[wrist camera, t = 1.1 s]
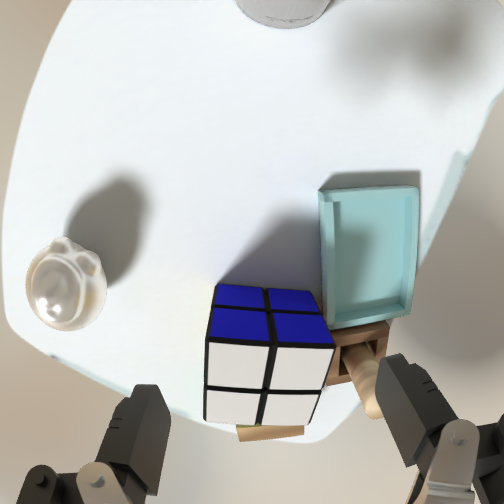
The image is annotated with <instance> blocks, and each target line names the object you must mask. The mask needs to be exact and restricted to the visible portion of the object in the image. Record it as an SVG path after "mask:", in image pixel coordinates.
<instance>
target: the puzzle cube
mask: <svg viewBox="0 0 504 504" xmlns="http://www.w3.org/2000/svg"><path fill="white" fill-rule="evenodd" d="M336 348H337V346H336V344H335V341H334V339H333V337H332V335H331V333H330V331H329V328H328V326H327V324H326V322H325V320H324V318H323V317H322V314H321V312H320V309H319V307H318V305H317V303H316V301H315V299H314V297H313V295H312V293H311V292H310V291H301V290H287V289H274V288H267V289H266V290H265V291H264V289H263V288H262V287H250V286H238V285H227V284H217V285H216V286H215V289H214V294H213V299H212V304H211V311H210V316H209V321H208V327H207V332H206V337H205V358H204V393H203V419H204V420H205V421H206V422H214V423H225V424H239V425H256V424H257V423H259V424H260V425H267V426H302V425H308V424H309V423H310V422H311V419H312V417H313V414H314V411H315V409H316V406H317V403H318V401H319V398H320V395H321V389H322V388H323V387H324V384H325V382H326V379H327V376H328V373H329V370H330V367H331V364H332V361H333V357H334V354H335V351H336Z"/></svg>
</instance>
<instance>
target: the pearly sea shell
mask: <svg viewBox="0 0 504 504" xmlns="http://www.w3.org/2000/svg"><path fill="white" fill-rule="evenodd" d="M26 294H27V298H28V302H29V304H30V306H31V308H32V310H33V312H34V313H35V315H36V316H37V317H38V318H39V319H40V320H41V321H42V322H43V323H45V324H46V325H48V326H49V327H51V328H53V329H56V330H60V331H76V330H79V329H82V328H84V327H86V326H88V325H89V324H91V323H92V322H93V321H94V320H95V319H96V318H97V317H98V315H99V314H100V312H101V311H102V309H103V306H104V304H105V300H106V295H107V281H106V276H105V273H104V270H103V268H102V266H101V260H100V258H99V256H98V255H97V254H96V253H95V252H92V251H88V250H87V249H85V248H83V247H82V246H80V245H78V244H76V243H74V242H73V241H72V240H71V239H69V238H67V237H57V238H55V239H54V240H53V241H52V242H51V244H50V245H49V246H47V247H45V248H43V249H42V250H41V251H40V252H39V253H38V254H37V255H36V256H35V257H34V259H33V260H32V262H31V264H30V266H29V268H28V271H27V276H26Z"/></svg>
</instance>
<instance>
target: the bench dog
mask: <svg viewBox="0 0 504 504" xmlns="http://www.w3.org/2000/svg"><path fill="white" fill-rule="evenodd" d="M236 430H237V433H238V437H239V441H240V442H241V441H256V440H267V439H276V438H284V437H292V436H299V435H304V425H302V426H267V425H260V424H259V423H257V424H256V425H239V424H236Z"/></svg>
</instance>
